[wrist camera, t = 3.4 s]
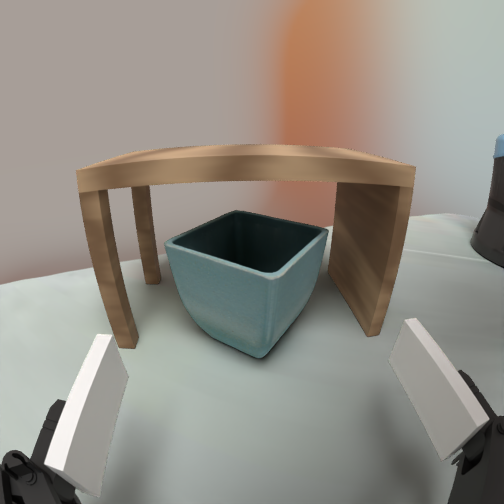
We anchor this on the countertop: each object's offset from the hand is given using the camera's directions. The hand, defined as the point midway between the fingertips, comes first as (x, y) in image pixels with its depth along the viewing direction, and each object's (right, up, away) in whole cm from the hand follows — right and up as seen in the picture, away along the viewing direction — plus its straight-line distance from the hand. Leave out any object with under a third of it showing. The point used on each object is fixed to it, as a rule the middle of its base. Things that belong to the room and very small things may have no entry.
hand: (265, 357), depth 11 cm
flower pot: (-1, -3, +12) cm, 12 cm away
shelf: (-1, -1, +16) cm, 16 cm away
